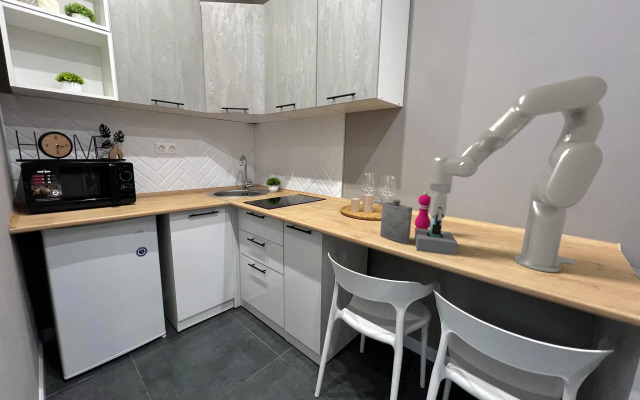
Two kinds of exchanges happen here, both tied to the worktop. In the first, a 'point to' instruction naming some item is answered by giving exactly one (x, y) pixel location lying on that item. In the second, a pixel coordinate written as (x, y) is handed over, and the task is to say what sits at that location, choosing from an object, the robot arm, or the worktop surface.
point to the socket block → (435, 242)
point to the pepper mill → (423, 212)
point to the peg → (431, 228)
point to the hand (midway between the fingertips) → (435, 232)
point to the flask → (396, 222)
